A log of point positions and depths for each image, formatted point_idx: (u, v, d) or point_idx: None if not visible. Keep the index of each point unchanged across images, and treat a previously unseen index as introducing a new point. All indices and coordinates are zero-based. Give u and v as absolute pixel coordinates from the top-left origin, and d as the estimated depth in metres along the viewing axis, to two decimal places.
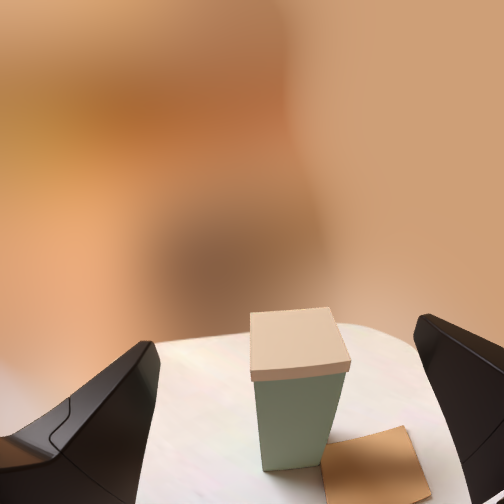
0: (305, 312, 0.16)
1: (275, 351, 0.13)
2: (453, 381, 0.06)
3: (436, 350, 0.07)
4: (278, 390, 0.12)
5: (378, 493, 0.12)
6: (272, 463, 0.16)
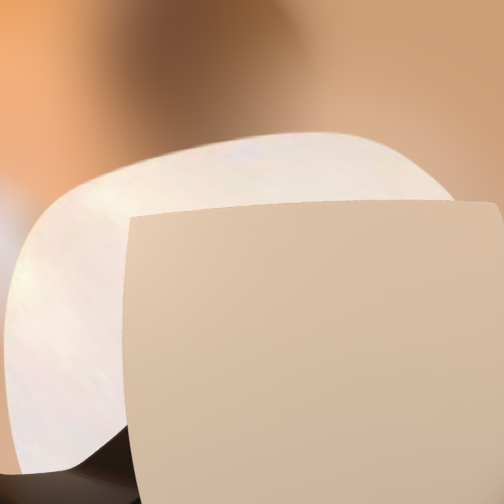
0: (436, 225, 0.03)
1: None
2: None
3: None
4: None
5: None
6: None
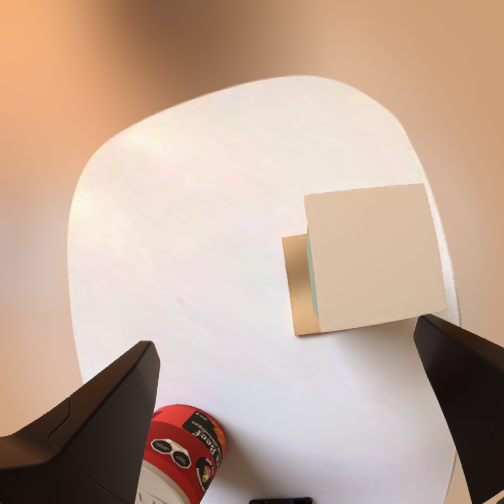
0: (391, 194, 0.09)
1: (353, 291, 0.09)
2: (453, 381, 0.06)
3: (436, 350, 0.07)
4: None
5: None
6: None
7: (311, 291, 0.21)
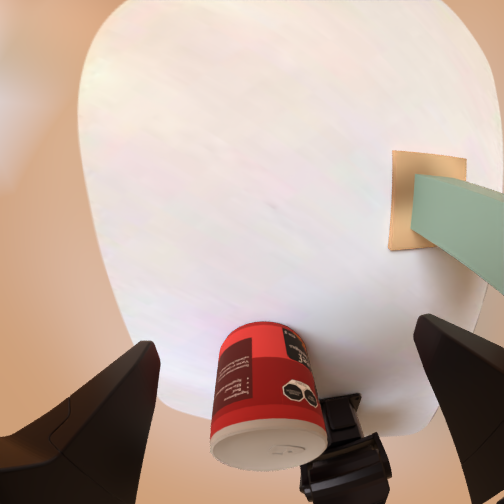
0: None
1: None
2: (453, 381, 0.06)
3: (436, 350, 0.07)
4: None
5: None
6: None
7: (416, 212, 0.19)
